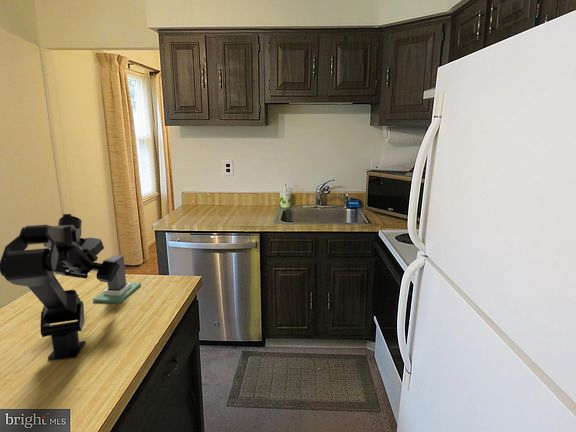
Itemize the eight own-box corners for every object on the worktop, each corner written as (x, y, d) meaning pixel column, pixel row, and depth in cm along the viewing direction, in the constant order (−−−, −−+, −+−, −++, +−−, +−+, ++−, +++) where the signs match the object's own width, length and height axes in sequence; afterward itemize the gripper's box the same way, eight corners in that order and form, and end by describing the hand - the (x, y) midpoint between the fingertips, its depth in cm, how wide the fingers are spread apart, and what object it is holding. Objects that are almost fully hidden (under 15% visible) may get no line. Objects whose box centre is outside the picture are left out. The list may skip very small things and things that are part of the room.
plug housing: (118, 294, 120) (115, 260, 117) (108, 293, 120) (105, 260, 118) (126, 287, 125) (123, 255, 122) (117, 287, 125) (113, 255, 122)
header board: (119, 303, 116) (118, 296, 115) (93, 301, 116) (92, 294, 116) (140, 285, 129) (140, 279, 128) (117, 284, 130) (116, 277, 129)
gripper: (116, 235, 103) (137, 261, 116) (59, 227, 106) (86, 253, 118) (97, 270, 97) (122, 292, 109) (37, 260, 99) (68, 283, 112)
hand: (100, 279), depth 112 cm, fingers open, 9 cm apart
